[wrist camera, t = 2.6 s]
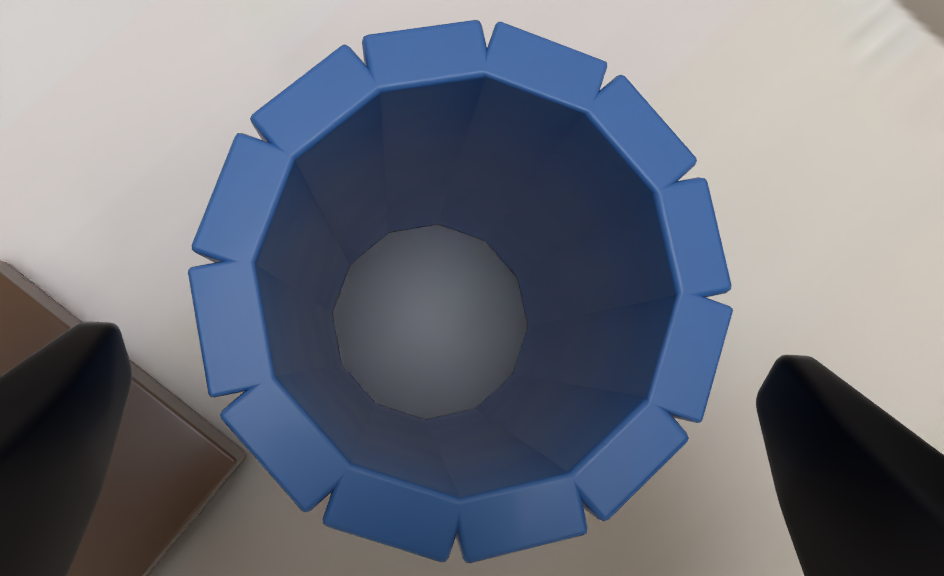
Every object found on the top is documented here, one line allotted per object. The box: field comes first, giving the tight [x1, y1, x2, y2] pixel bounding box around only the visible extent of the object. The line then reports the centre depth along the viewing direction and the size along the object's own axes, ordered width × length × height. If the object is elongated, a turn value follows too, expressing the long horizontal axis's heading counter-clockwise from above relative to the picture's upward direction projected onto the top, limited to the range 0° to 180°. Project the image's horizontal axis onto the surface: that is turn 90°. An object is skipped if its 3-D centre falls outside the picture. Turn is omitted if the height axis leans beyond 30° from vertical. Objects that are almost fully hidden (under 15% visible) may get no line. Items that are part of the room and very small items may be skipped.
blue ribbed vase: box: [188, 20, 733, 563], centre depth 13 cm, size 7×7×10 cm
